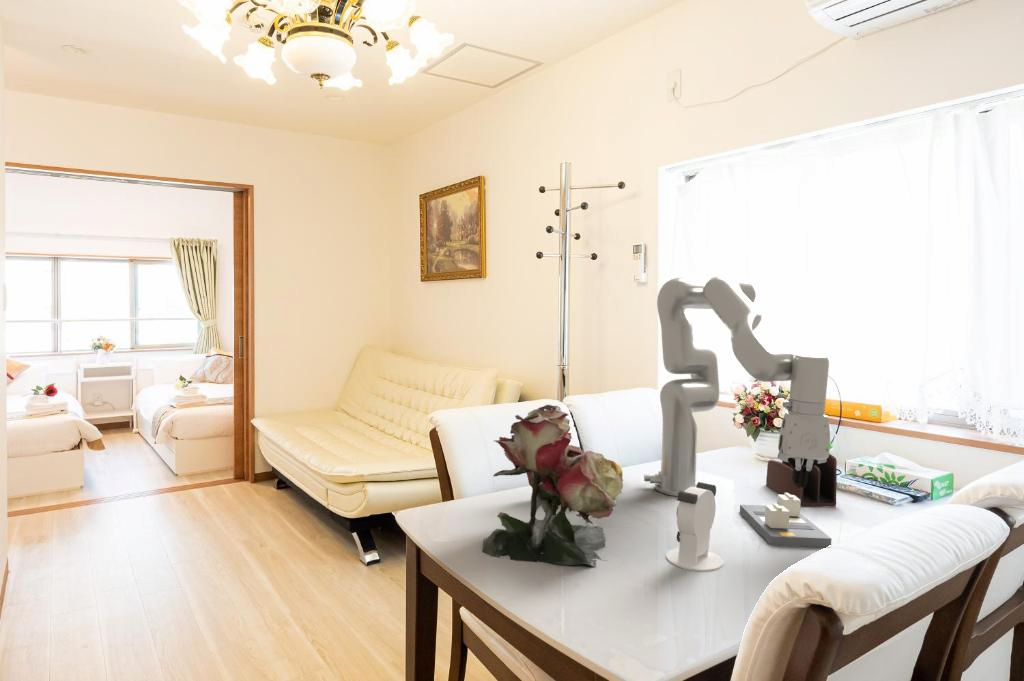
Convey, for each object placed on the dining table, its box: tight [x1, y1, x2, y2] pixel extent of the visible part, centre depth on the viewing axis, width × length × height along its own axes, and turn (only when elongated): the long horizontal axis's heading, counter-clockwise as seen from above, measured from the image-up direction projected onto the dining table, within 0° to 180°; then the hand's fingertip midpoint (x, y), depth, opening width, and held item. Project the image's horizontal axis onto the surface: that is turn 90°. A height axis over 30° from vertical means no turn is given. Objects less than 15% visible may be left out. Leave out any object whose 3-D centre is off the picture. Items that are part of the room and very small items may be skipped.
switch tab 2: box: [776, 493, 801, 516], centre depth 156 cm, size 4×4×5 cm
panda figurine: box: [665, 481, 724, 572], centre depth 132 cm, size 12×11×15 cm
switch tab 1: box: [764, 502, 790, 529], centre depth 147 cm, size 4×4×5 cm
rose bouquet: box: [481, 404, 624, 567], centre depth 140 cm, size 26×29×30 cm
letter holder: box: [765, 452, 838, 508], centre depth 179 cm, size 10×20×14 cm, turn 4°
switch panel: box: [739, 504, 832, 548], centre depth 152 cm, size 13×22×2 cm, turn 178°
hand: (799, 485), depth 147 cm, fingers closed
